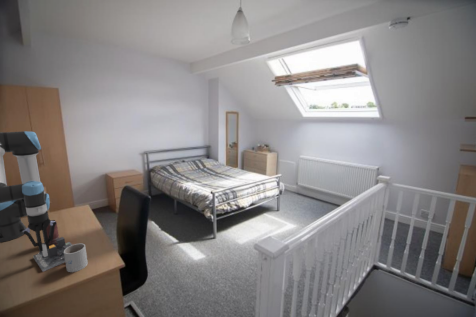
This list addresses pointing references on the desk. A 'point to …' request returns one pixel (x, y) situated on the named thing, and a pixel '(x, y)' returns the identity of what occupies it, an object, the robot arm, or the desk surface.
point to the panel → (50, 259)
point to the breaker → (60, 242)
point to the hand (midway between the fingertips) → (45, 255)
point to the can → (53, 235)
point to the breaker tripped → (52, 251)
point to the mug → (75, 257)
